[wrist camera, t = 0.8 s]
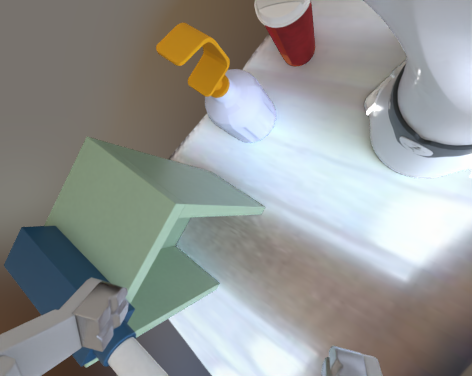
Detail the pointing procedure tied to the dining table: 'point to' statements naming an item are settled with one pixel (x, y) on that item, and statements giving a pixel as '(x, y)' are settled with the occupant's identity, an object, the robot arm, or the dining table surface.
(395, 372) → the dining table surface
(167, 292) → the stand
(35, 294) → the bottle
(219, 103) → the soap bottle
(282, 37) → the paper cup
